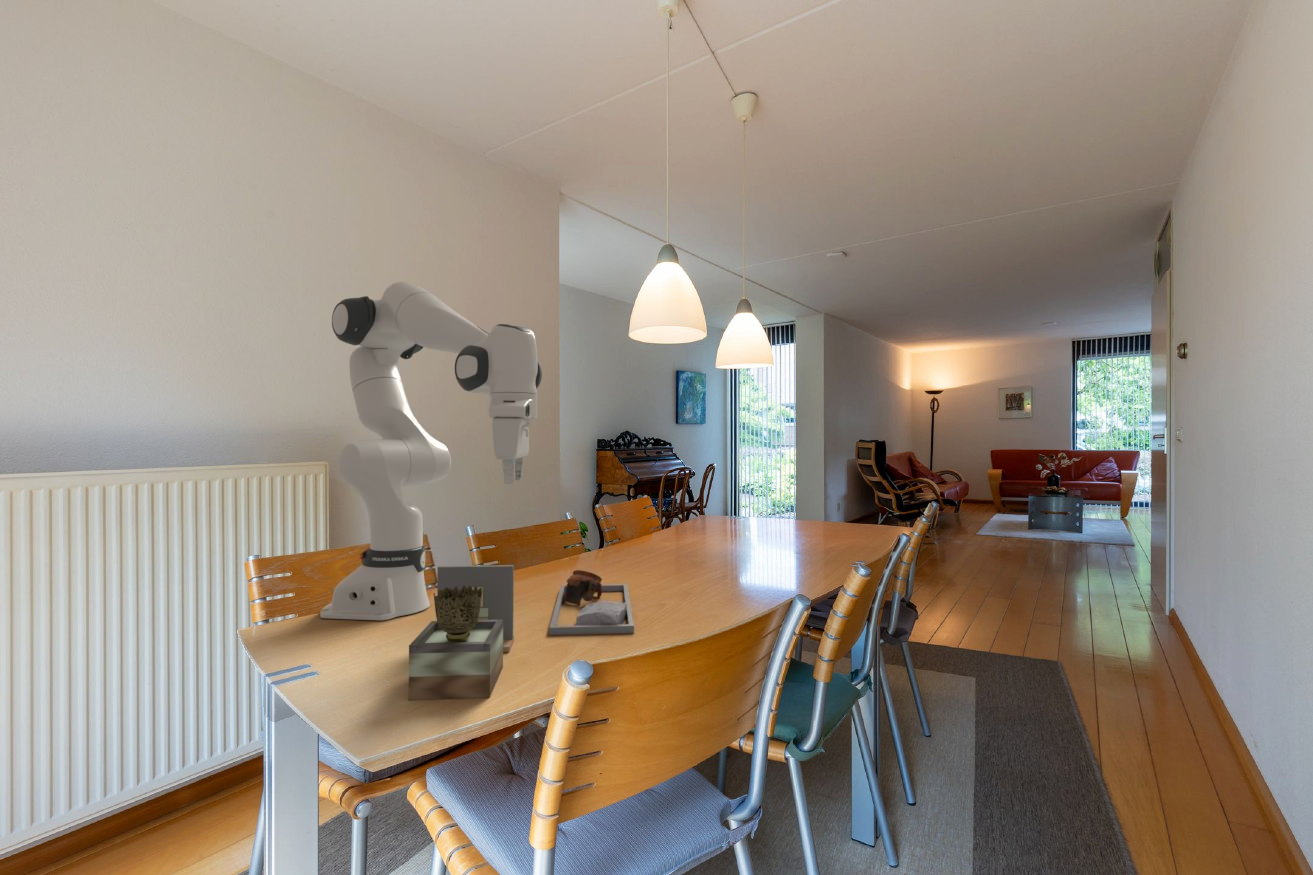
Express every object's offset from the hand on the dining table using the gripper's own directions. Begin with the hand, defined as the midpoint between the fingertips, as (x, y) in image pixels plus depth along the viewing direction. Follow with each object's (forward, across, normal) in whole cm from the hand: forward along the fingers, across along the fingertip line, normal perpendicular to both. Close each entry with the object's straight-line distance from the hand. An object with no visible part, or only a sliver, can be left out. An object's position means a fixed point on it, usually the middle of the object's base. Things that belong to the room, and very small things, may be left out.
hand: (513, 481), depth 114 cm
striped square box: (+31, +17, -6) cm, 36 cm away
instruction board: (+31, +1, -7) cm, 32 cm away
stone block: (+32, -13, +17) cm, 38 cm away
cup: (+24, +18, -6) cm, 31 cm away
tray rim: (+31, -22, +15) cm, 41 cm away
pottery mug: (+31, -30, +13) cm, 45 cm away
